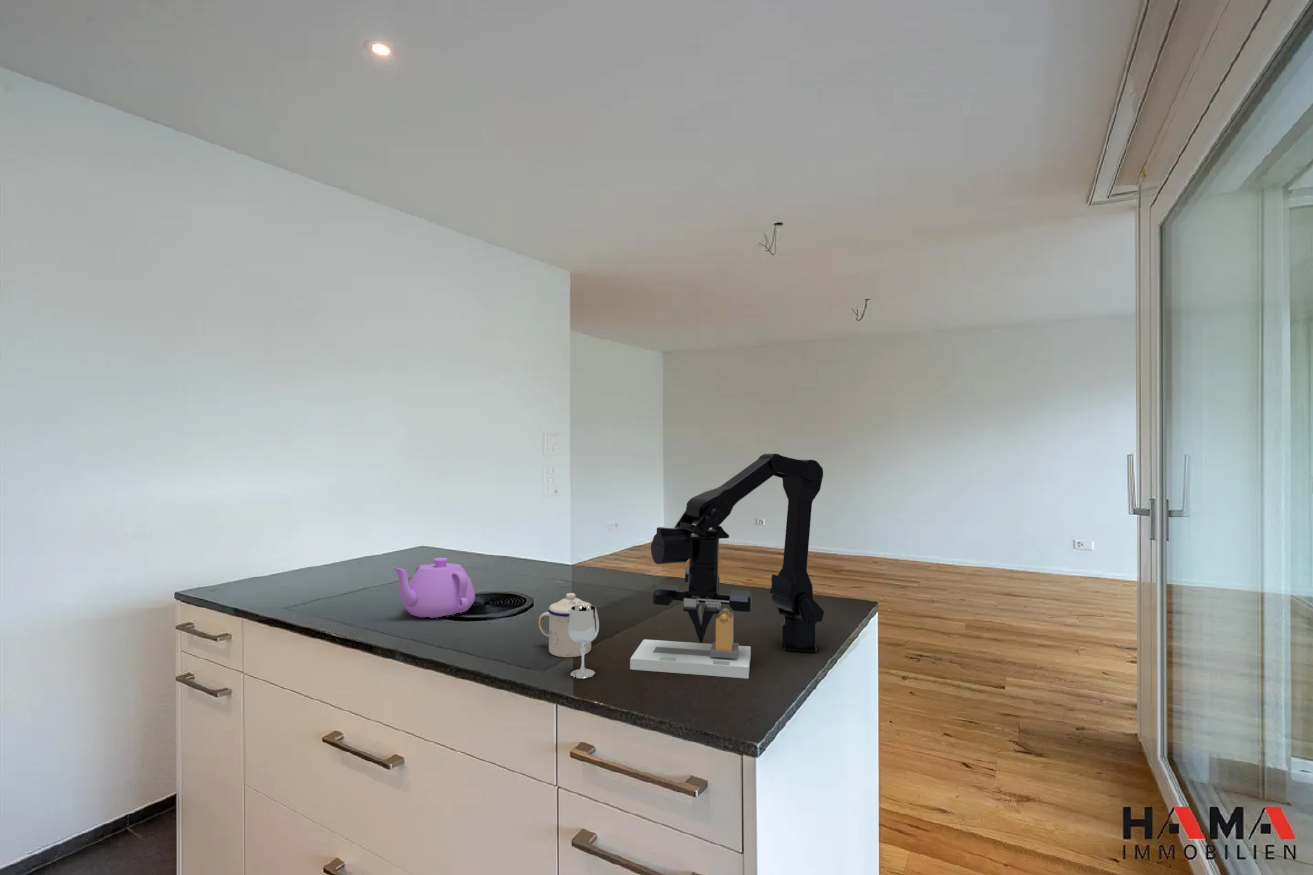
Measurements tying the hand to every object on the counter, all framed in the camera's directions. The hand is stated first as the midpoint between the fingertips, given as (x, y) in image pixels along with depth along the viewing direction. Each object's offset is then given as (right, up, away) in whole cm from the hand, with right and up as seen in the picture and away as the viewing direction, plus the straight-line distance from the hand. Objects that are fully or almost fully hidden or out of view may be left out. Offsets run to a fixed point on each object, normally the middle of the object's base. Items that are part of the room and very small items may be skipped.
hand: (701, 642), depth 114 cm
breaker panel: (-2, -4, 0) cm, 4 cm away
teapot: (-65, -5, +34) cm, 74 cm away
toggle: (+4, -2, -1) cm, 5 cm away
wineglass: (-22, -4, -6) cm, 23 cm away
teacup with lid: (-28, -4, +7) cm, 29 cm away
